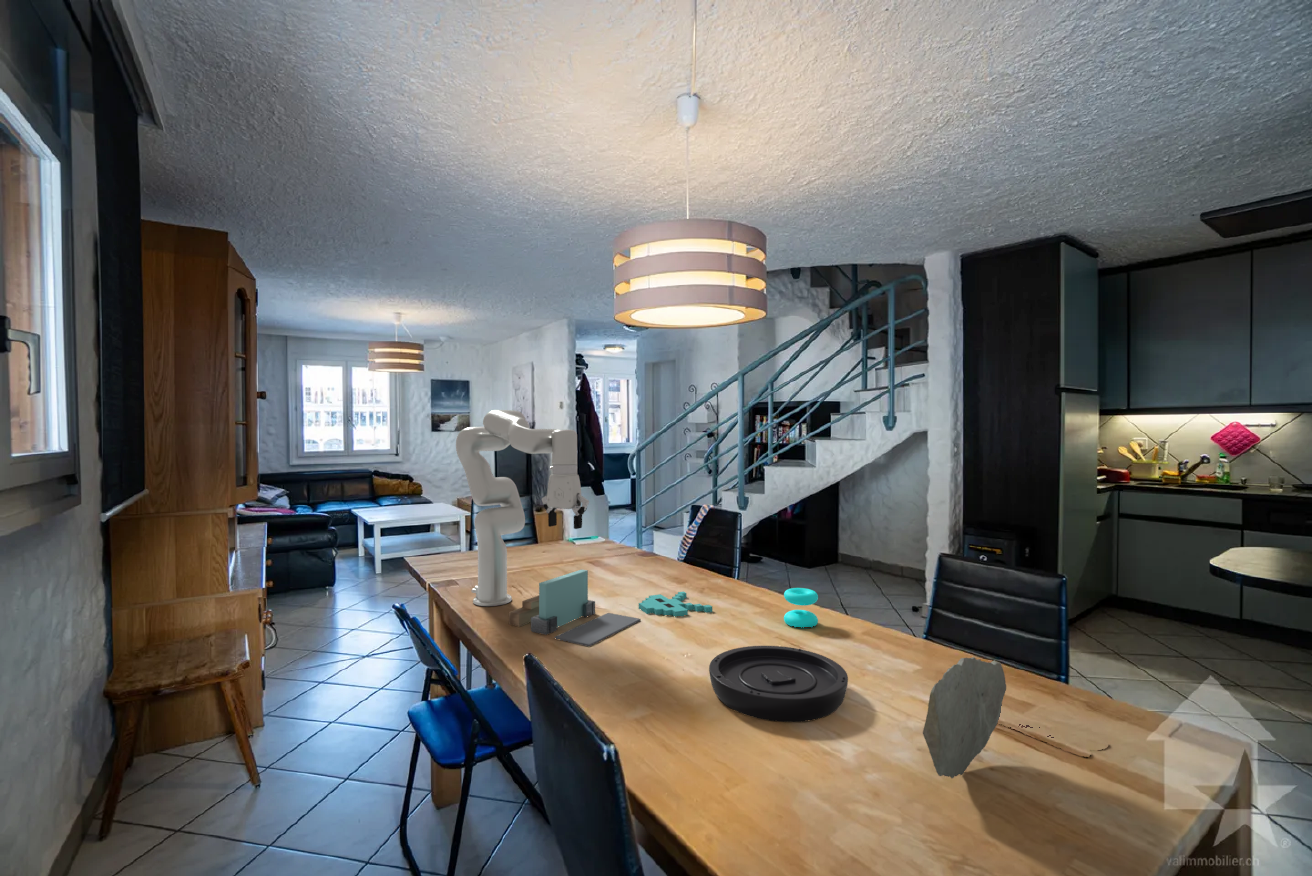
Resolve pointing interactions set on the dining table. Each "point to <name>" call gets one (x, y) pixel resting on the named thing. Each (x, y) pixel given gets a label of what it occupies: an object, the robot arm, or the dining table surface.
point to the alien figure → (671, 605)
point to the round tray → (778, 683)
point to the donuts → (802, 598)
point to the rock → (963, 713)
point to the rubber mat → (597, 629)
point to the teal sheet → (564, 597)
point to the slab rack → (551, 623)
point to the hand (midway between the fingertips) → (565, 527)
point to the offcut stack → (525, 612)
